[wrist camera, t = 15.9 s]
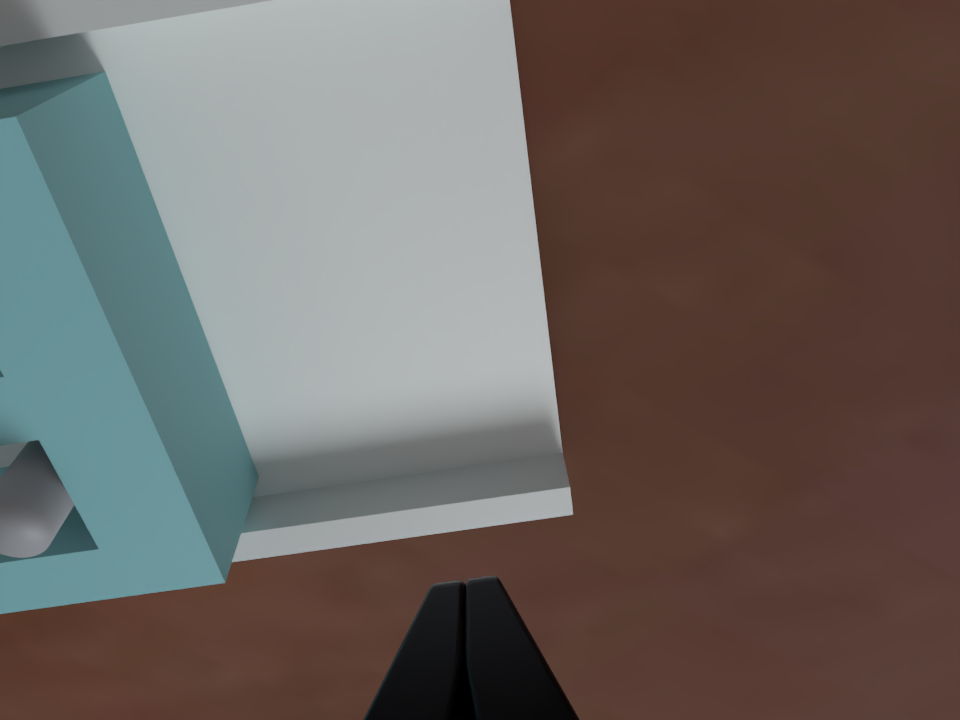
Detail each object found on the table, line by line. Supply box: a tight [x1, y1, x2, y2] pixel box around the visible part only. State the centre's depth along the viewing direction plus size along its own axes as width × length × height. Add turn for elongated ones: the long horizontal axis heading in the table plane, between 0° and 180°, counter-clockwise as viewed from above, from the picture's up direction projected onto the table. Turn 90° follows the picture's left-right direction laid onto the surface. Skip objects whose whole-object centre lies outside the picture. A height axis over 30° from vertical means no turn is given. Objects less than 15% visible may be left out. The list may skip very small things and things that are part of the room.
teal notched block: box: [0, 72, 259, 614], centre depth 18 cm, size 7×11×4 cm, turn 8°
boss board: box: [0, 0, 573, 562], centre depth 18 cm, size 16×15×6 cm
